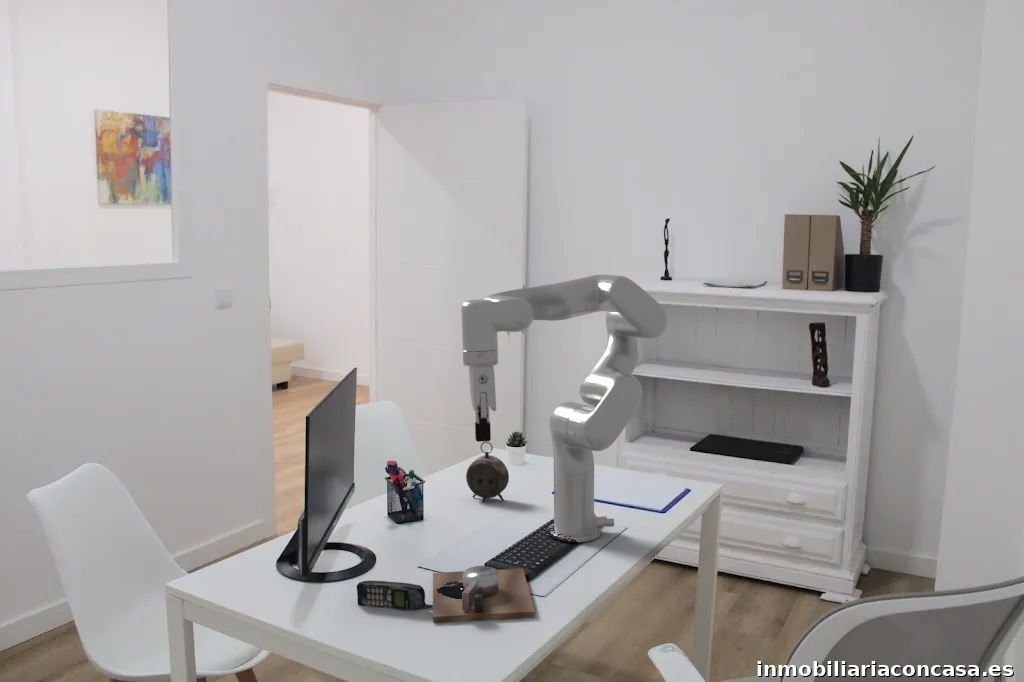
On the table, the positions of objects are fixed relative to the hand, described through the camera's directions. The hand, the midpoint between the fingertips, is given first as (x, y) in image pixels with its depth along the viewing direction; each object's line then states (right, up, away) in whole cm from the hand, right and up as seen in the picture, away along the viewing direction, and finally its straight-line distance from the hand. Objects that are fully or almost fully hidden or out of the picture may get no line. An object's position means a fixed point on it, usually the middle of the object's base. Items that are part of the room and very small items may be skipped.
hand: (483, 440), depth 193 cm
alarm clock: (0, -21, +44) cm, 49 cm away
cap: (-1, -28, -20) cm, 35 cm away
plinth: (0, -29, -17) cm, 34 cm away
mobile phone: (-16, -30, -21) cm, 40 cm away
